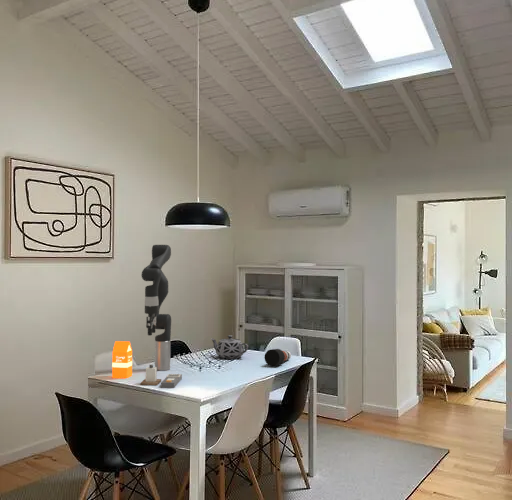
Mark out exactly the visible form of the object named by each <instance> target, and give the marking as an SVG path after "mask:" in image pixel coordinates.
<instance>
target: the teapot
mask: <svg viewBox="0 0 512 500" xmlns="http://www.w3.org/2000/svg"><path fill="white" fill-rule="evenodd" d="M210 340H211V341H212V343H213V348H214V350H215V354H216V355H217V357H219V358H220V357H221V358H220V359H224V358H226V360H233V359H234V360H235V359H239V358H241V357H242V356H243V355H244V354H245V353H246V352H247V351H248V350H249V345H248V343H246V342H245V343H244V342H242V341H241V340H240V339H238V338H233V335H231V334H230V335H227V338H222V339H219V341H218V343H217V340H216V339H215V338H210ZM244 346H245V348H244Z"/></svg>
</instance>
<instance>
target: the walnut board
mask: <svg viewBox="0 0 512 500" xmlns="http://www.w3.org/2000/svg"><path fill="white" fill-rule="evenodd" d="M161 382H162V378H157V380H156V381H155V382H146V378H144V379H143V380H142V381H140V384H139V385H140V386H158V385H160V384H161Z"/></svg>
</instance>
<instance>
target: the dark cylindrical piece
mask: <svg viewBox="0 0 512 500" xmlns="http://www.w3.org/2000/svg"><path fill="white" fill-rule="evenodd" d="M291 357H292V354H291V352H290V351H288V350H282V349H280V348H272V349H271V348H270V349H268V350H267V351H266V352H265V353H264V357H263V358H264V362H265V363H266V365H268V366H271V367H274V366H279V365H282V364H283V363H284V362H285V361H289V360H291Z"/></svg>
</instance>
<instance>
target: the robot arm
mask: <svg viewBox="0 0 512 500" xmlns="http://www.w3.org/2000/svg"><path fill="white" fill-rule="evenodd" d="M171 249H172V248H171V246H170V245H168V244H153V245H152V248H151V258H152V259H151V261H150V263H149V264H148V265H147V266H145V267H144V268H143V269H142V271H141V278H142V280H143V281H144V282H152V284H150V285H146V286H145V288H144V314H146V315H148V316H146V320H145V321H146V322H145V323H146V325H145V326H146V329H147V336H152V335H153V334H155V333H156V330H164V331H163V332H162V333H160V334H157V335H155V336H154V367H157V371H169V370H171V336H172V335H171V334H172V331H171V330H172V317H171V314H169V313H160V309H161V306H162V304H163V303H164V301H165V300H166V298H167V296H168V293H169V281H168V278H167V277H166V275H165V273H164V272H163V271H162V268H163V266H164V265H165V264H166V263H167V262H169V260H170V258H171V256H172V250H171Z"/></svg>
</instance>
